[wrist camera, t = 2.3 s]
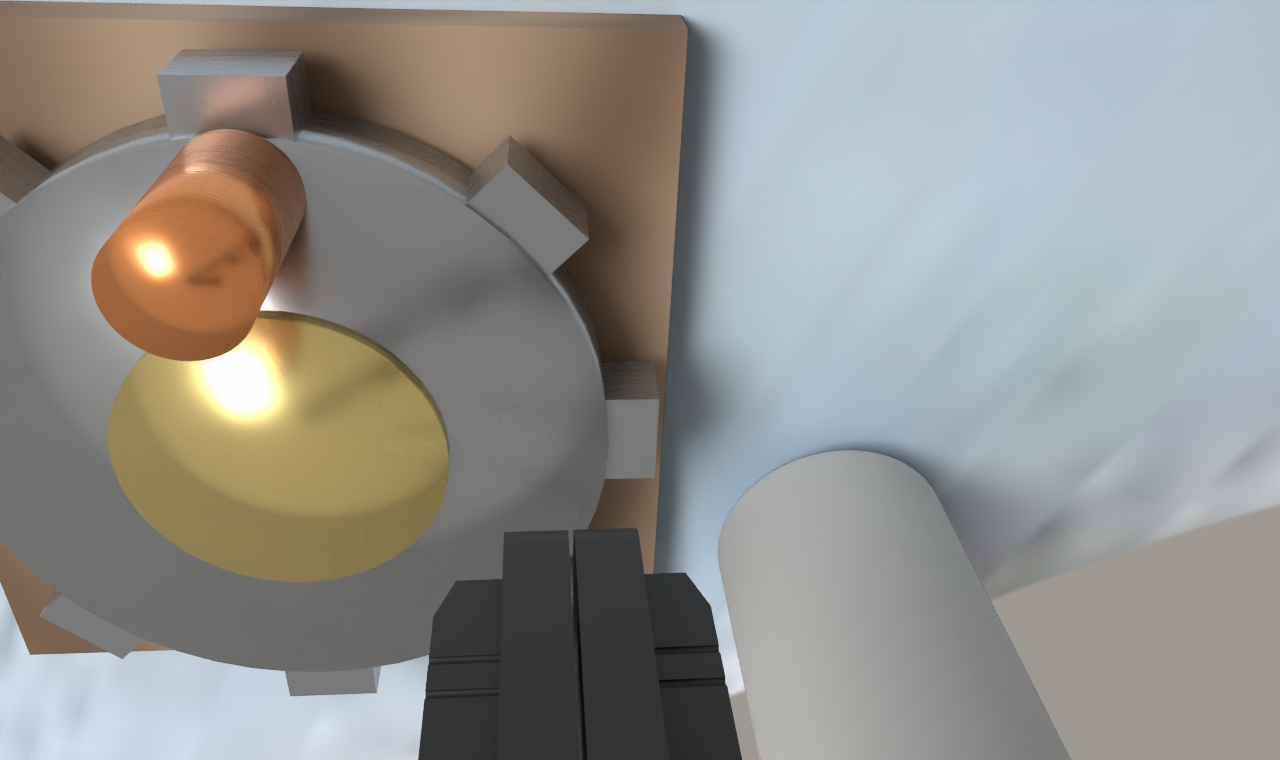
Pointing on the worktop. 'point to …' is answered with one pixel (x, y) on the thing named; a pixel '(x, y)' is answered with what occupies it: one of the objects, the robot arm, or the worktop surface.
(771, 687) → the beverage can
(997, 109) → the worktop surface
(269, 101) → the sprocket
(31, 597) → the board
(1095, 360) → the worktop surface
